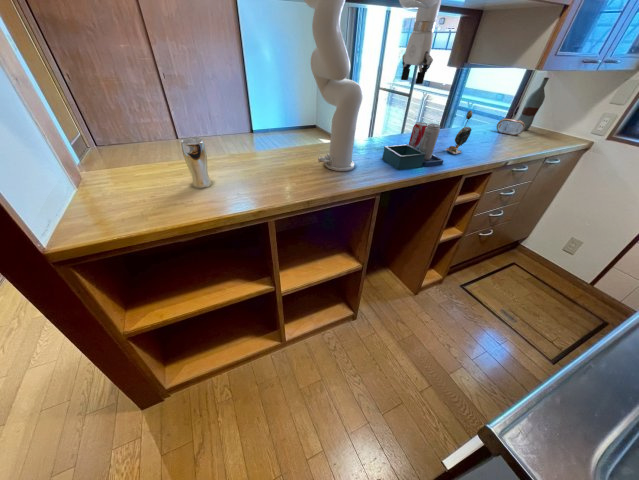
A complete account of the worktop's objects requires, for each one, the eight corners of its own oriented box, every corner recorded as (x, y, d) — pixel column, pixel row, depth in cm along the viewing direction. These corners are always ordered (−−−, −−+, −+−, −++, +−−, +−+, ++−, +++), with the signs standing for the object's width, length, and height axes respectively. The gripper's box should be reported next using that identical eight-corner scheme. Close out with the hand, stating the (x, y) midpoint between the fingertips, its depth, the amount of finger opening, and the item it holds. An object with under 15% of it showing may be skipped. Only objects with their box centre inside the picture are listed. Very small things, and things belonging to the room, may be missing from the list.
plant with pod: (468, 153, 134) (486, 110, 121) (452, 155, 130) (468, 111, 117) (456, 147, 139) (471, 106, 127) (440, 149, 135) (454, 107, 123)
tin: (520, 135, 165) (527, 121, 160) (520, 137, 163) (527, 122, 158) (494, 131, 171) (500, 117, 166) (493, 132, 169) (500, 118, 163)
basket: (397, 170, 112) (401, 156, 108) (381, 158, 121) (384, 146, 118) (421, 167, 116) (425, 154, 112) (404, 156, 125) (407, 144, 122)
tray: (424, 166, 116) (426, 162, 115) (405, 155, 126) (406, 151, 125) (442, 164, 119) (443, 160, 118) (422, 153, 130) (423, 149, 128)
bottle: (515, 126, 184) (539, 76, 165) (529, 129, 179) (556, 78, 160) (511, 128, 178) (536, 77, 160) (526, 131, 174) (554, 79, 155)
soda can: (422, 151, 132) (430, 126, 125) (408, 149, 133) (414, 124, 126) (421, 146, 138) (428, 122, 130) (407, 145, 138) (413, 121, 131)
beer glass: (188, 183, 93) (176, 140, 83) (207, 178, 97) (197, 136, 87) (197, 190, 89) (185, 146, 80) (216, 184, 93) (207, 141, 83)
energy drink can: (432, 161, 120) (443, 127, 111) (419, 160, 120) (429, 126, 111) (427, 156, 125) (438, 123, 116) (415, 156, 125) (425, 122, 116)
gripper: (401, 27, 102) (391, 78, 113) (431, 28, 90) (417, 85, 100) (417, 28, 105) (406, 78, 115) (448, 29, 92) (432, 85, 103)
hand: (411, 81), depth 108 cm, fingers open, 9 cm apart
